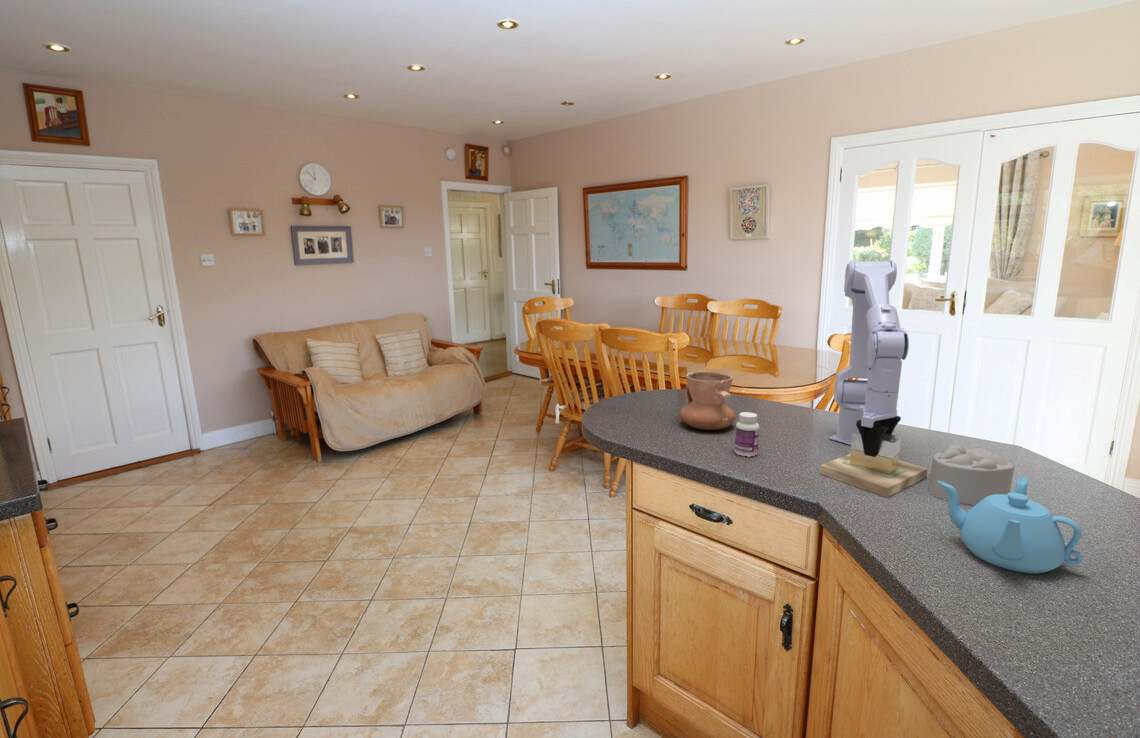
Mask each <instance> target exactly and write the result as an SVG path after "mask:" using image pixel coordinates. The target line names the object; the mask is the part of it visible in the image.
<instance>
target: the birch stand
mask: <svg viewBox="0 0 1140 738" xmlns="http://www.w3.org/2000/svg"><path fill="white" fill-rule="evenodd" d="M849 463H850V453H848V454H846V455H843V456H840V457H838V458H835V459H833V460H830V461H827V462H825V463H822V464H820V470H819V471H820V472H819V475H822V476H825V477H827V476H828V478H831V479H834V480H836V481H838V482H842V483H845V484H848V485H850V486H853V487H855V486H856V487H855V488H858V487H859V488H858V489H861V488H862V489H861V490H864V489H865V491H866V490H867V492H869V493H873V494H876V495H879V496H881V497H883V498H886V499H888V498H889V497H891V496H893V495H895V494H897V493H899V492H901V491H903V490H905V489H907V488H908V487H911V486H913V485H915V484H917V483H919V482H921V481H922V479H923V480H925V479H927V477H928V468H927V467H923V466H920V465H916V464H912V463H910V462H908V461H907V462H906V461H902V460H900V459H899V464H898V468H897V469H896V470H895V471H894V472H893V473H892V474H891V475H890V474H886V473H882V472H879V471H875V470H871V469H867V468H863V467H860V466H856V465H852V464H849ZM924 478H925V479H924ZM920 480H921V481H920ZM918 481H919V482H918Z"/></svg>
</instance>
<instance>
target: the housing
mask: <svg viewBox="0 0 1140 738" xmlns="http://www.w3.org/2000/svg"><path fill="white" fill-rule="evenodd" d="M901 445H902V436H899V435H896V434H892V435H891V434H887V433H885V434H884V436H883V438H882V440H881V443H880V447H879V451H878V453H877V455H876V457H872V456H868V455H865V454H864V449H863V443H862V438H861V434H860V432H859V430H857V431H855V432H854V433H852V441H851V445H850V453H849V454H850V463H849V464H852V465H856V466H860V467H863V468H867V469H871V470H875V471H879V472H882V473H886V474H890V475H891V474H892V473H893V472H894V471H895V470H896V469H897V468H898V464H899V460H900V454H901V447H902V446H901Z"/></svg>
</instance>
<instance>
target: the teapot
mask: <svg viewBox="0 0 1140 738" xmlns="http://www.w3.org/2000/svg"><path fill="white" fill-rule="evenodd" d="M937 482H938V483H939V484H940V485H941V486H942V487H944V489H945V490H946V492H947V495H948V501H947V502H948V503H947V504H948V505H947V507H948V508H947V510H948V517H949V518H950V521H951V522H952V524H954V526H955V527H957V529H959V533H958V534H959V536H960V539H961V541H962V542H963V544H964V545H965V546H966V548H967V549H968V550H969V551H970V552H971V553H972V554H974V556H976V557H978V558H979V559H980V560H982V561H984V562H987V563H989V564H992V565H993V566H996V567H999V568H1002V569H1005V570H1009V571H1013V572H1017V573H1024V574H1043V573H1047V572H1051V571H1052V570H1055V569H1057V568H1059V567H1061V566H1062V565H1063V564H1064V562H1065V563H1067V564H1069V565H1079V564H1080V565H1081V563H1082V562H1083V560H1084V559H1083V558H1084V557H1083V555H1082V554H1081V552H1080V551H1078V550H1074V549H1075V548H1076V546H1077V545H1078V543H1079V541H1080V540H1081V538H1082V528H1081V527H1080V525H1079V524H1078V523H1077V522H1076V521H1074V520H1073V519H1071V518H1069V517H1067V516H1066V517H1065V516H1062V515H1054V516H1053V515H1052V513H1051V512H1050V511H1049V509H1048V508H1046V507H1045V506H1043V505H1042V504H1041V503H1039V502H1037V501H1034V500H1031V499H1030V497H1029V496H1027V495H1028V494H1027V490H1028V489H1027V488H1028V485H1029V481H1028V478H1027V476H1020V477H1019V478H1018V479H1017V481H1016V485H1015V487H1014V489H1013V492H1011V491H1010V493H1008V494H1007V495H1004V494H995V495H990V496H987V497H986V498H984V499H983V500H981V501H980V502H979V503H978V504H976V505H973V507H972V508H971V509H970V510H969V511H968V512H966V511H965V510H964V509H962V507H961V506H960V503H959V502H958V493H957V491H956V489H955V488H954V487H953V486H951V485H949V484H947V483H944V482H941V481H937ZM1058 523H1062V524H1065V525H1068V526H1069V527H1071V528H1072V529H1073V533H1072V534H1073V535H1072V537H1071V538H1070V540H1069V541H1068V543H1067V544H1065V539H1064V536H1063V534H1062V531H1061V529H1060V527H1059V526H1058ZM1070 555H1073V556H1075V558H1072V557H1070Z"/></svg>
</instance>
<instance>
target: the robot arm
mask: <svg viewBox="0 0 1140 738" xmlns="http://www.w3.org/2000/svg"><path fill="white" fill-rule="evenodd" d="M897 268H898V265H897V264H896V262H895V261H894V260H888V261H886V260H883V261H881V260H880V261H879V260H877V261H876V260H875V261H873V260H871V261H869V260H865V261H854V260H850V261H849V262H848V263H847V264H846V267H845V271H844V274H845V275H844V284H843V286H844V287H843V290H844V291H843V292H844V296H845V297H847V298H849V299H851V303H852V314H851V315H852V316H851V317H852V318H851V333H850V334H851V335H850V347H849V348H850V349H849V365H848V366H846V367H845V368H843V369H841V370H840V371H838V372H837V374H836V376H835V382H834V387H833V400H834V402H835V403H836V404H837V405H839V408H838V409H839V410H838V421H837V429H836V431H837V433H836V434H834V435H831V436H829V440H832V441H835V442H839V443H842V444H846V445H849V446H851V441H852V433H854V432H855V431H857V430H859V432H860V434H861V438H862V443H863V449H864V454H865V455H868V456H872V457H876V455H877V453H878V451H879V447H880V443H881V440H882V438H883V436H884V434H885V433H887V434H891V435H893V432H894V430H895V428H896V427H897V426H898V424H899V422H901V419H902V417H901V416H899V415H898V411H897V408H898V399H899V390H900V382H901V373H902V365H903V361H904V360H906V359H907V356H908V353H909V350H910V349H909V348H910V347H909V346H910V345H909V344H910V341H909V334H908V332H907V330H905V328H903V327H901V325H900V324H901V323H900V319H899V315H898V311H897V309H896V307H895V306H893V305H892V304H890V293H889V292H890V291H891V290H892V288H893V286H894V285H895V283H896V281H897V276H898V275H897V274H898V269H897ZM902 360H903V361H902ZM865 379H866V380H865Z"/></svg>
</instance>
